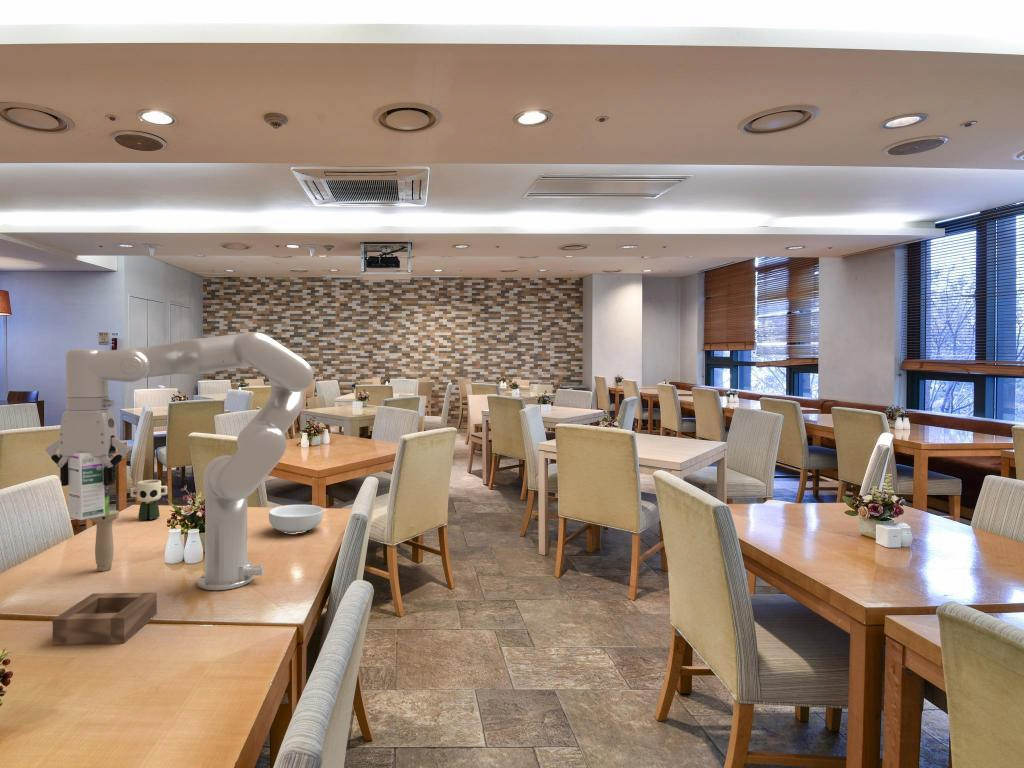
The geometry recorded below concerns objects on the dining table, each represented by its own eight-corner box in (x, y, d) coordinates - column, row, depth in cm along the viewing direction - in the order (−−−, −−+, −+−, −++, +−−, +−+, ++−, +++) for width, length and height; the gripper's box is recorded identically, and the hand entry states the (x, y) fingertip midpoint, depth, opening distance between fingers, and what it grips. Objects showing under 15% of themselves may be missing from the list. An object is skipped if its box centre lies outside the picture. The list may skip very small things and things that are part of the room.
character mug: (129, 523, 199) (129, 484, 199) (131, 518, 205) (131, 480, 205) (166, 520, 204) (166, 482, 203) (168, 515, 210) (168, 478, 210)
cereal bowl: (312, 539, 186) (312, 517, 186) (259, 538, 186) (259, 515, 186) (329, 524, 203) (330, 504, 203) (281, 523, 203) (281, 503, 203)
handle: (118, 570, 155) (118, 513, 154) (88, 574, 152) (88, 516, 151) (119, 565, 159) (119, 509, 159) (90, 568, 156) (90, 512, 155)
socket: (156, 615, 129) (156, 592, 129) (124, 643, 116) (124, 617, 116) (92, 616, 128) (92, 593, 127) (52, 645, 115) (52, 619, 114)
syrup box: (80, 521, 127) (79, 453, 127) (68, 516, 130) (67, 450, 130) (109, 515, 132) (109, 450, 131) (97, 511, 135) (96, 447, 135)
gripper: (138, 404, 135) (139, 481, 136) (56, 403, 133) (57, 481, 134) (120, 406, 127) (121, 488, 128) (32, 406, 125) (34, 488, 126)
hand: (88, 484), depth 131 cm, fingers closed on syrup box, 8 cm apart
